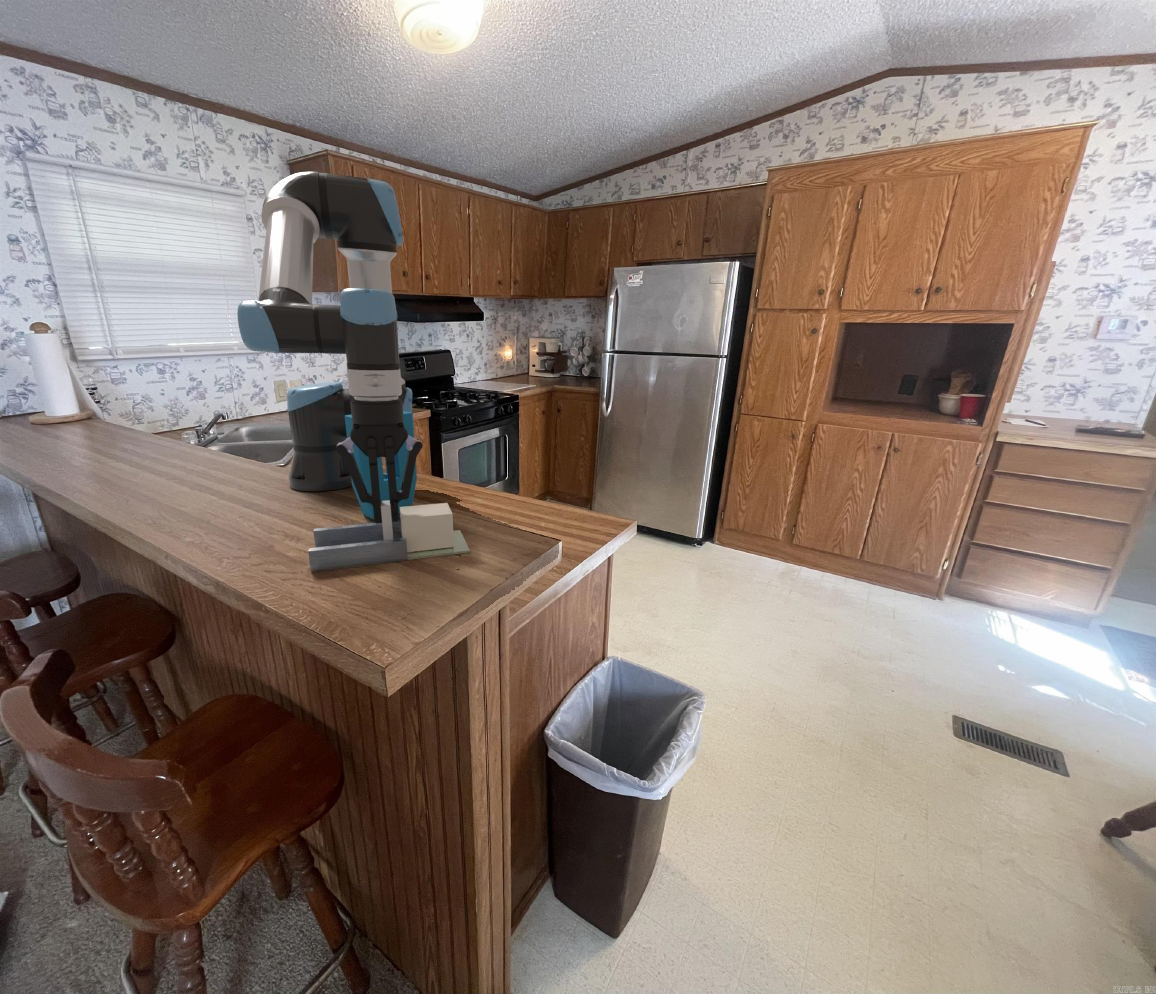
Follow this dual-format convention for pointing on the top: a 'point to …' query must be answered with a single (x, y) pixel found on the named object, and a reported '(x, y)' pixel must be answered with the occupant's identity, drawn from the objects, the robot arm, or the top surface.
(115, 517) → the top surface
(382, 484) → the block
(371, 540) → the chute
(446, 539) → the block
